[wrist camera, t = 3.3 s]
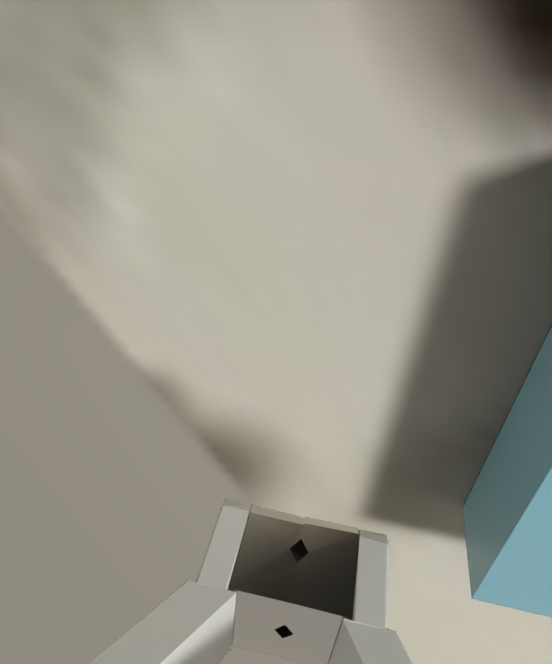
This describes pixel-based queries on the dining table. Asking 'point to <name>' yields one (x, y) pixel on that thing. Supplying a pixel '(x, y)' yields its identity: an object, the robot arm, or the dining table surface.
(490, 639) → the dining table surface
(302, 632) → the robot arm
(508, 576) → the light blue flat block
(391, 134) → the dining table surface
